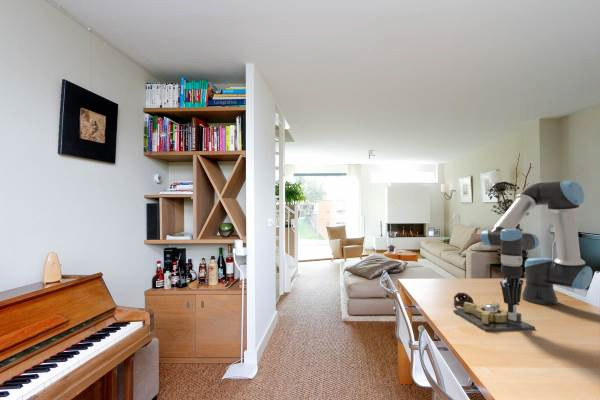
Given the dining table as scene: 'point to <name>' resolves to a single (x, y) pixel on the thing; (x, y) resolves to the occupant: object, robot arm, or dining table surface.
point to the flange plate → (493, 325)
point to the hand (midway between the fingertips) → (512, 319)
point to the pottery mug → (462, 299)
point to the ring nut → (488, 316)
